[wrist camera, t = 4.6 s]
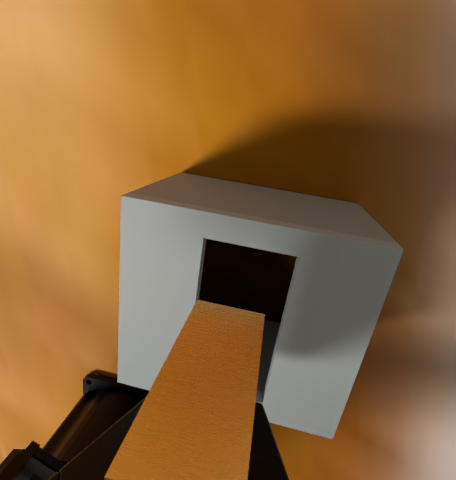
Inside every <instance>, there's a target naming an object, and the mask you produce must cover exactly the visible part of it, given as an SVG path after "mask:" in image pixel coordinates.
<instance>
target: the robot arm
mask: <svg viewBox="0 0 456 480" xmlns="http://www.w3.org/2000/svg"><path fill="white" fill-rule="evenodd" d="M148 393H149V390H145V389H141V388H138V387H134V386H130V385H126V384H123V383H119V382H117V380H114V379H110V378H106V377H103V376H99V375H95V374H91V373H89V374H87V375H86V376H85V378H84V379H83V396H82V398H81V399H80V400H79V402H78V403H77V404H76V406H75V407H74V408H73V409H72V411H71V412H70V413H69V415H68V416H67V417H66V419H65V420H64V421H63V422H62V424H61V425H60V426H59V428H58V429H57V430H56V432H55V433H54V434H53V435H52V437H51V438H50V439H49V441H48V442H47V443H46V445H45V446H44V447H43V448H40V447H39V446H40V445H39V444H38V443H36V442H35V441H32V442H31V443H30V445H29V446H28V447H27V448H26V449H23V450H22V449H13V450H12V452H11V453H10V454H9V455H8V456H7V457H6V459H5V460H4V461H3V462H2V463H1V464H0V480H104V477H105V475H106V473H107V471H108V469H109V467H110V465H111V463H112V461H113V459H114V458H115V456H116V454H117V452H118V450H119V448H120V446H121V444H122V442H123V440H124V438H125V437H126V435H127V433H128V431H129V429H130V427H131V425H132V423H133V421H134V419H135V417H136V416H137V414H138V412H139V410H140V408H141V406H142V404H143V402H144V400H145V398H146V396H147V395H148ZM247 480H289V478H288V475H287V473H286V470H285V467H284V464H283V461H282V458H281V455H280V452H279V450H278V447H277V444H276V441H275V438H274V435H273V432H272V429H271V427H270V424H269V421H268V418H267V415H266V412H265V409H264V406H263V405H262V404H261V403H259V402H256V403H255V413H254V422H253V432H252V441H251V451H250V460H249V470H248V479H247Z"/></svg>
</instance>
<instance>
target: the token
mask: <svg viewBox="0 0 456 480" xmlns="http://www.w3.org/2000/svg"><path fill="white" fill-rule="evenodd" d="M264 318H265V314H262V313H257V312H252V311H248V310H243V309H239V308H234V307H229V306H225V305H220V304H215V303H211V302H206V301H202V300H197V301H196V303H195V305H194V307H193V309H192V311H191V312H190V314H189V316H188V318H187V320H186V322H185V324H184V326H183V328H182V330H181V332H180V333H179V335H178V337H177V339H176V341H175V343H174V345H173V347H172V349H171V351H170V353H169V354H168V356H167V358H166V360H165V362H164V364H163V366H162V368H161V370H160V372H159V374H158V375H157V377H156V379H155V381H154V383H153V385H152V387H151V389H150V391H149V393H148V395H147V396H146V398H145V400H144V402H143V404H142V406H141V408H140V410H139V412H138V414H137V416H136V417H135V419H134V421H133V423H132V425H131V427H130V429H129V431H128V433H127V435H126V437H125V438H124V440H123V442H122V444H121V446H120V448H119V450H118V452H117V454H116V456H115V458H114V459H113V461H112V463H111V465H110V467H109V469H108V471H107V473H106V475H105V477H104V480H247V479H248V470H249V460H250V451H251V441H252V432H253V422H254V413H255V403H256V394H257V384H258V375H259V365H260V356H261V346H262V337H263V327H264Z"/></svg>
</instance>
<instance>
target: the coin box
mask: <svg viewBox="0 0 456 480" xmlns="http://www.w3.org/2000/svg"><path fill="white" fill-rule="evenodd" d="M206 239H211V240H216V241H221V242H226V243H231V244H236V245H241V246H246V247H251V248H256V249H261V250H266V251H271V252H276V253H281V254H286V255H291V256H296V257H297V258H296V262H295V266H294V270H293V274H292V278H291V283H290V287H289V291H288V295H287V299H286V303H285V307H284V311H283V315H282V319H281V323H277V322H273V321H269V320H264V327H263V337H262V346H261V356H260V365H259V375H258V384H257V394H256V402H259V403H261V404H262V405H263V406H264V409H265V412H266V415H267V418H268V421H269V422H270V423H273V424H277V425H281V426H285V427H288V428H292V429H296V430H300V431H303V432H307V433H311V434H315V435H319V436H322V437H326V438H330V439H333V437H334V434H335V432H336V429H337V426H338V424H339V421H340V418H341V416H342V413H343V410H344V408H345V405H346V402H347V400H348V397H349V394H350V392H351V389H352V386H353V384H354V381H355V378H356V376H357V373H358V371H359V368H360V365H361V363H362V360H363V357H364V355H365V352H366V349H367V347H368V344H369V341H370V339H371V336H372V333H373V331H374V328H375V325H376V323H377V320H378V318H379V315H380V312H381V310H382V307H383V304H384V302H385V299H386V296H387V294H388V291H389V288H390V286H391V283H392V280H393V278H394V275H395V272H396V270H397V267H398V265H399V262H400V259H401V257H402V254H403V251H404V249H403V248H402V247H401V246H400V245H399V244H398V243H397V242H396V241H395V240H394V239H393V238H392V237H391V236H390V235H389V234H388V233H387V232H386V231H385V230H384V229H383V228H382V227H381V226H380V225H379V224H378V223H377V222H376V221H375V220H374V219H373V218H372V217H371V216H370V215H369V214H368V213H367V212H366V211H365V210H364V209H363V208H362V207H361V206H360V205H359V204H358V203H353V202H347V201H341V200H336V199H330V198H324V197H319V196H313V195H307V194H302V193H296V192H290V191H285V190H279V189H273V188H268V187H262V186H256V185H251V184H245V183H239V182H234V181H228V180H222V179H217V178H211V177H205V176H200V175H194V174H188V173H183V172H181V173H178V174H176V175H173V176H171V177H168V178H165V179H163V180H160V181H158V182H155V183H153V184H150V185H147V186H145V187H142V188H140V189H137V190H135V191H132V192H129V193H127V194H124V195H122V196H121V228H120V278H119V328H118V378H117V382H119V383H123V384H126V385H130V386H134V387H138V388H141V389H145V390H149V391H150V389H151V387H152V385H153V383H154V381H155V379H156V377H157V375H158V374H159V372H160V370H161V368H162V366H163V364H164V362H165V360H166V358H167V356H168V354H169V353H170V351H171V349H172V347H173V345H174V343H175V341H176V339H177V337H178V335H179V333H180V332H181V330H182V328H183V326H184V324H185V322H186V320H187V318H188V316H189V314H190V312H191V311H192V309H193V307H194V305H195V303H196V301H197V300H199V294H200V286H201V278H202V270H203V263H204V255H205V247H206Z"/></svg>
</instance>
